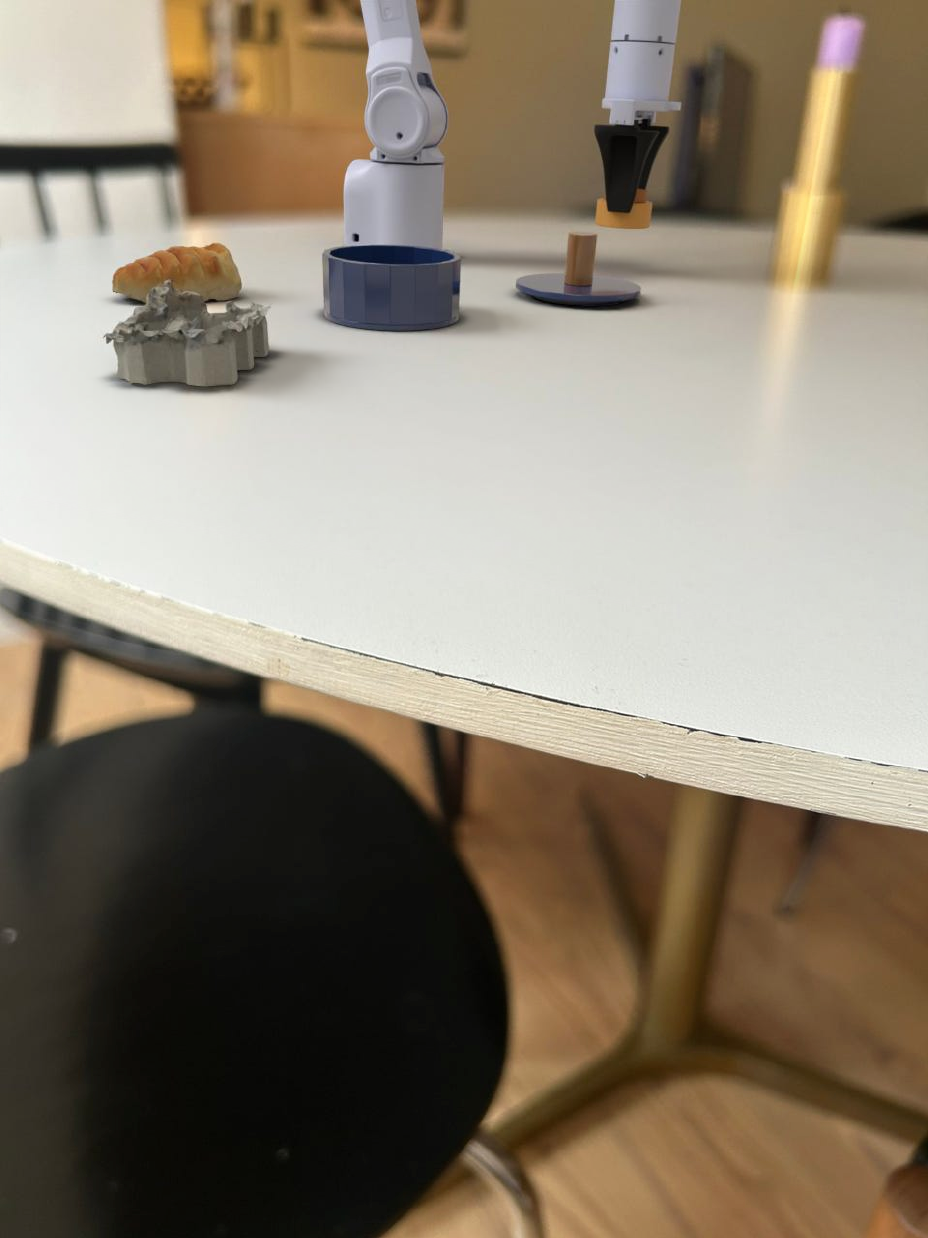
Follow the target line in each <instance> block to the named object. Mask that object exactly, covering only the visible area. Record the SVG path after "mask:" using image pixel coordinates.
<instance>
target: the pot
mask: <svg viewBox="0 0 928 1238" xmlns="http://www.w3.org/2000/svg"><path fill="white" fill-rule="evenodd" d="M442 249H443V248H442ZM442 249H437V248H429V247H421V246H409V245H389V244H372V245H371V244H366V245H348V246H345V245H341V246H333V247H331V248H326V249H324V250H323V252H322V253H321V257H322V258H321V260H322V288H323V290H322V293H323V294H322V295H323V297H322V298H323V311H324V317H325V318H326V319H327V320H328V321H331V322H333V323H334V324H338V325H341V326H345V327H351V328H356V329H365V330H372V331H387V332H388V331H389V332H390V331H391V332H394V331H395V332H403V331H404V332H409V331H413V332H414V331H426V330H433V329H434V330H435V329H440V328H444V327H448V326H451V325H454V324H455V323H457V322H458V320H459V315H460V297H461V296H460V295H461V271H462V270H461V269H462V258H461V254H458V253H456V252H455V253H454V252H451V251H447V250H448V249H443V250H442Z"/></svg>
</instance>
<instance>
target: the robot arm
mask: <svg viewBox="0 0 928 1238" xmlns="http://www.w3.org/2000/svg"><path fill="white" fill-rule="evenodd" d="M359 1H360V6H361V14H362V17H363V23H364V29H365V34H366V41H367V45H368V55H367V62H366V67H365V78H366V82H367V89H368V90H367V91H368V92H367V100H366V104H365V109H364V117H363V119H364V127H365V131H366V134H367V137H368V138H369V141H370V142H371V144H372V145H373V146H374V147H373V149H372V150H371V151H370V152H369V158H370V159H361V158H359V159H358V158H357V159H354V160H352V161H351V162H350V163H349V165H348V166H347V168H346V172H345V176H344V183H343V229H344V230H343V231H344V233H343V234H344V235H343V237H344V246H348V245H366V244H371V245H372V244H389V245H409V246H421V247H429V248H437V249H442V250H444V248H443V241H444V240H443V237H444V235H443V234H444V206H445V205H444V204H445V170H446V169H445V166H446V164H445V162H446V156H444V154H442V152H441V150H440V148H439V145H440V144H442V142H443V140H444V139H445V137H446V135H447V132H448V130H449V129H448V128H449V122H450V116H449V108H448V105H447V103H446V101H445V99H444V97H443V96H442V94H441V93H440V91H439V90H438V88H437V86H436V83H435V80H434V75H433V70H432V65H431V62H430V59H429V56H428V53H427V51H426V48H425V45H424V41H423V37H422V32H421V31H422V30H421V25H420V19H419V13H418V7H417V0H359ZM681 5H682V0H614V5H613V14H612V23H611V34H610V41H609V42H610V44H609V52H608V53H609V54H608V63H607V65H608V66H607V73H606V82H605V92H604V93H605V94H604V98H602V101H601V109H604V110H610V112H609V113H610V114H609V124H598V123H597V124H595V125H594V128H593V133H594V137H595V140H596V142H597V145H598V149H599V152H600V156H601V161H602V167H603V177H604V193H605V194H606V204H607V210H608V211H609V212H621V213H630V212H631V209H632V207H633V204H634V201H635V197H636V193H637V189H644V190H647V185H648V183H649V179H650V176H651V172H652V168H653V165H654V163H655V160H656V158H657V155H658V153H659V151H660V149H661V147H662V145H663V143H664V142H665V140H666V138H667V136H668V135H669V133H670V126H668V125H651V124H655V123H656V117H657V112H662V113H663V112H665V113H666V112H667V113H668V112H670V111H681V109H682V102H681V101H669V98H670V97H669V96H670V90H671V83H672V82H671V81H672V75H673V68H674V67H673V66H674V58H675V50H676V43H677V36H678V29H679V28H678V27H679V21H680V13H681ZM446 250H447V251H451V252H454V253H456V251H455V250H453V249H446Z"/></svg>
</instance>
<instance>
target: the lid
mask: <svg viewBox="0 0 928 1238" xmlns="http://www.w3.org/2000/svg"><path fill="white" fill-rule="evenodd" d="M597 242H598V233H595V232H590V231H569V232H568V234H567V245H566V246H567V247H566V256H565V257H566V258H565V269H564V272H563V273H561V272H560V273H559V272H558V273H557V272H556V273H555V272H554V273H553V272H551V273H534V274H528V275H523V276H520V277H518V278H517V279H516V280H515V289H516V290H518V291H520V292H522V293H523V294H524V293H525V294H526V295H527V294H528V295H531V296H532V297H533V298H534V299H536V300H539V301H542V302H546V303H551V304H557V305H564V306H574V307H575V306H576V307H577V306H578V307H605V306H614V305H616V304H621V303H622V302H623V301H629V300H634V299H636V298H639V297H640V296H641V294H642V287H641V286H640V284H637V283H635V282H633V281H629V280H625V279H621V278H617V277H612V276H605V275H597V274H596V275H595V263H596V253H597Z"/></svg>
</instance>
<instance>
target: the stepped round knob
mask: <svg viewBox="0 0 928 1238" xmlns="http://www.w3.org/2000/svg"><path fill="white" fill-rule="evenodd" d="M647 198H648V190H647V189H646V190H644V189H637V193H636V197H635V201H634V204H633V207H632V209H631V212H630V213H621V212H609V211H608V210H607V204H606V194H605V192H604V195H603V197H601V198H597V201H596V209H595V210H596V211H595V219H594V221H595V222H594V224H595V225H596V226H599V227H604V228H610V229H611V228H612V229H622V230H623V229H624V230H644V229H649V228H650V226H651V218H652V212H653V211H652V210H653V202H652V201H651V200H647Z"/></svg>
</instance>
